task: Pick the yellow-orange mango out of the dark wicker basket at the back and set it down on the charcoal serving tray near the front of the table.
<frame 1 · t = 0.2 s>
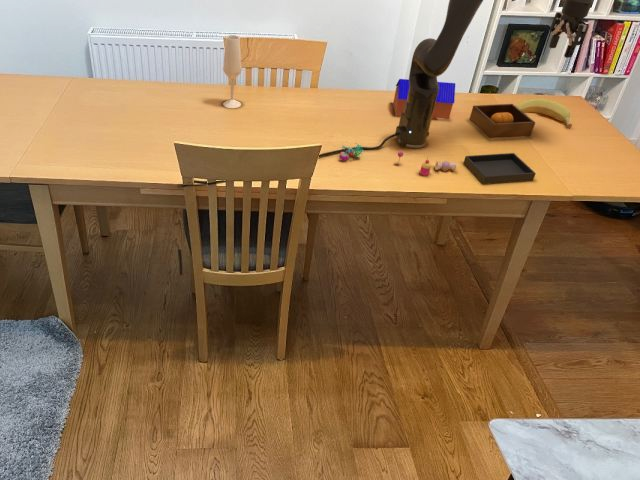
hand: (559, 52, 188), 29 cm above the table, tool pointing down, fingers open, 8 cm apart
tray: (497, 171, 186), on the table
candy: (425, 170, 185), on the table
house: (420, 112, 219), on the table
anatomy model: (347, 157, 190), on the table
basket: (498, 129, 210), on the table
banana: (544, 119, 218), on the table
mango: (499, 127, 209), point 1 cm above the table, touching basket
champagne flute: (232, 104, 217), on the table
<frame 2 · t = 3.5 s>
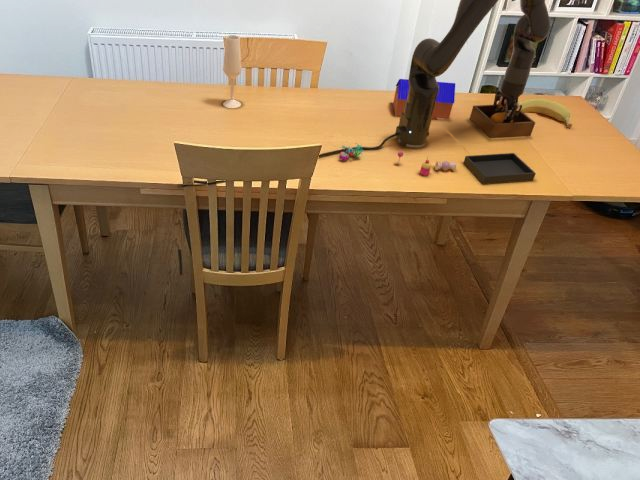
hand: (500, 125, 209), 1 cm above the table, tool pointing down, fingers closed on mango, 5 cm apart
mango: (499, 127, 209), point 1 cm above the table, touching basket, gripper
everything else where it was.
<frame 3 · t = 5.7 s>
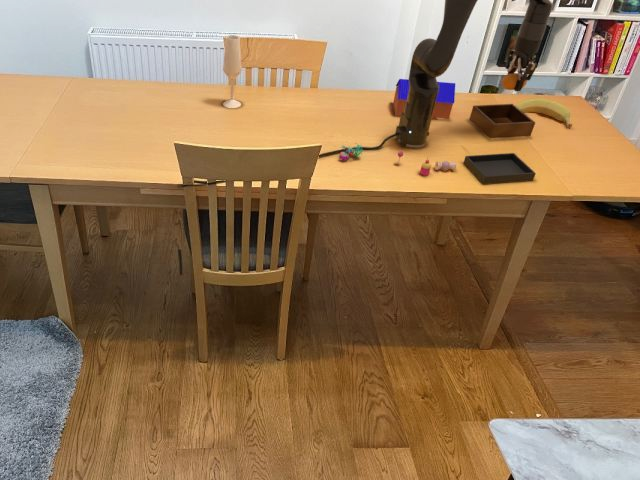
hand: (512, 87, 198), 16 cm above the table, tool pointing down, fingers closed on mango, 5 cm apart
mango: (511, 89, 198), point 16 cm above the table, touching gripper
everything else where it was.
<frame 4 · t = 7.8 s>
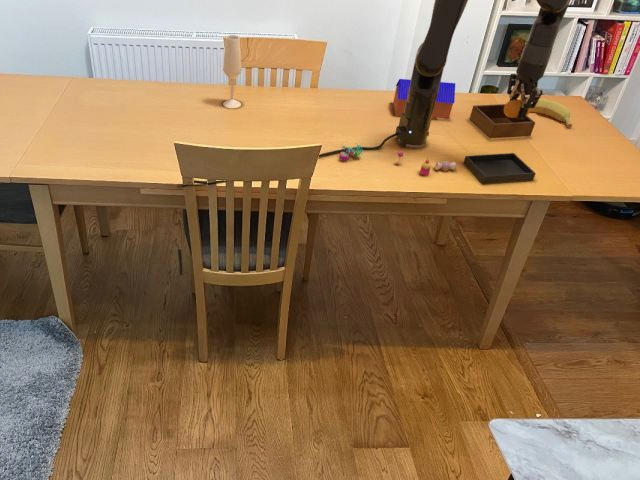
hand: (515, 114, 178), 17 cm above the table, tool pointing down, fingers closed on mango, 5 cm apart
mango: (514, 116, 179), point 17 cm above the table, touching gripper
everything else where it was.
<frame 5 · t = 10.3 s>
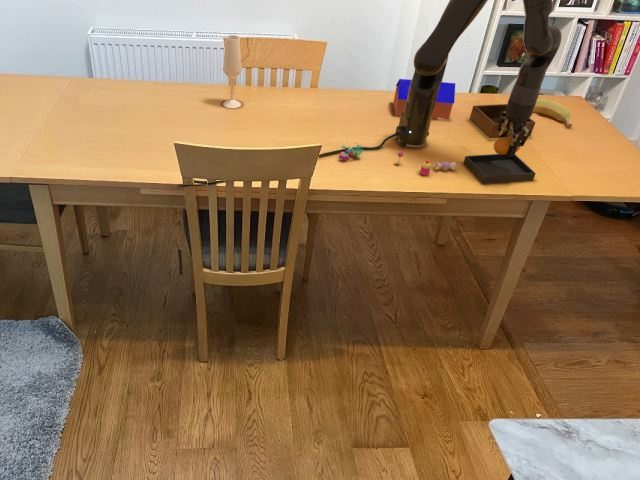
hand: (505, 151, 182), 7 cm above the table, tool pointing down, fingers closed on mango, 5 cm apart
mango: (504, 153, 182), point 6 cm above the table, touching gripper
everything else where it was.
when the fingers open (1 cm above the table, at t = 12.2 s): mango stays where it is, resting on tray.
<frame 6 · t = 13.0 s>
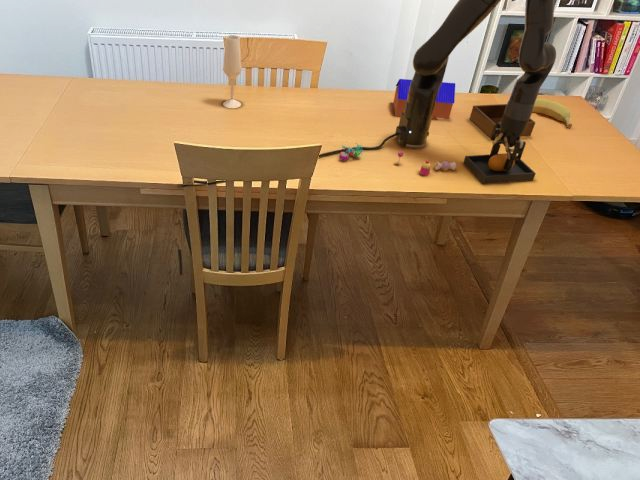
hand: (499, 162, 184), 3 cm above the table, tool pointing down, fingers open, 8 cm apart
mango: (498, 169, 186), point 1 cm above the table, touching tray
everything else where it was.
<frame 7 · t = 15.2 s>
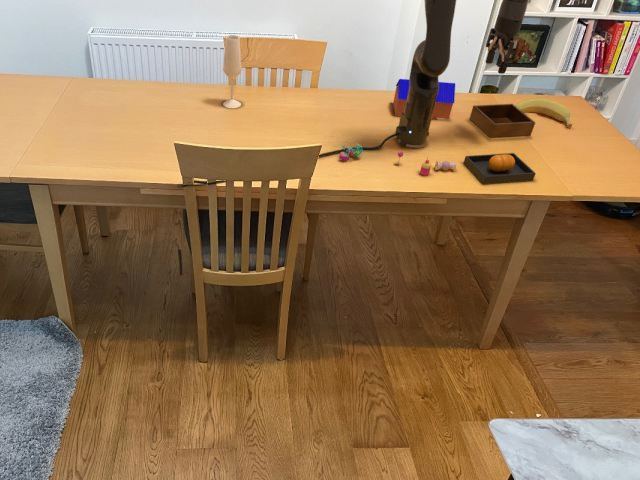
hand: (494, 68, 189), 24 cm above the table, tool pointing down, fingers open, 8 cm apart
nothing on the table moved.
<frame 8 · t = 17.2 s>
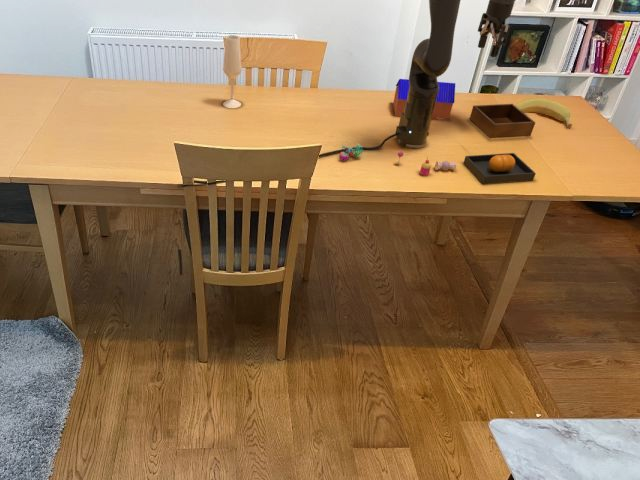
hand: (487, 52, 194), 26 cm above the table, tool pointing down, fingers open, 8 cm apart
nothing on the table moved.
at the end: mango inside the target area in the tray (0.2 cm from its centre), point 0.6 cm above the tray's base; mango touching tray; the gripper is holding nothing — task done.
